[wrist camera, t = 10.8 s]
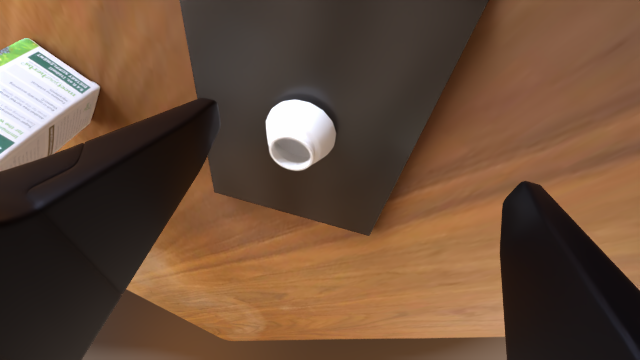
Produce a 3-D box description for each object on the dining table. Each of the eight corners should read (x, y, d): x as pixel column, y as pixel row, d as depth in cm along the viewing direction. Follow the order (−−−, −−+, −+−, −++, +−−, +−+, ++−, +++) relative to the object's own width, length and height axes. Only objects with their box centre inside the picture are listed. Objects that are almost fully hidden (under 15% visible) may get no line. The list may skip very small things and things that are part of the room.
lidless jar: (317, 163, 25) (349, 121, 21) (308, 190, 23) (341, 149, 19) (260, 132, 24) (284, 83, 20) (245, 158, 22) (268, 108, 18)
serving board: (494, -24, 14) (497, -18, 14) (370, 227, 31) (369, 236, 30) (173, -100, 15) (161, -98, 15) (218, 185, 32) (214, 192, 31)
